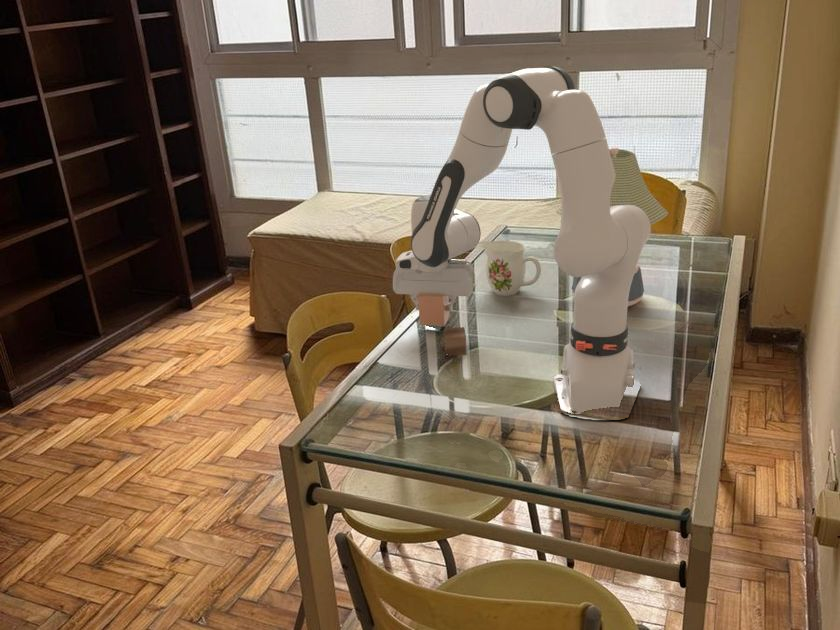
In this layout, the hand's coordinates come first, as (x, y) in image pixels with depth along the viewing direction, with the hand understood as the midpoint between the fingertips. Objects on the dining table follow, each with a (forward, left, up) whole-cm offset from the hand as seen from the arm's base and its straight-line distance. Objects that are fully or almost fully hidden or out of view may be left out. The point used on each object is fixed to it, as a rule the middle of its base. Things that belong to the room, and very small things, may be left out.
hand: (434, 309), depth 205 cm
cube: (0, 0, -5) cm, 5 cm away
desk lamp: (+23, -43, -5) cm, 49 cm away
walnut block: (-12, -8, -5) cm, 15 cm away
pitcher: (+26, -16, -5) cm, 31 cm away
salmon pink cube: (0, 0, -3) cm, 3 cm away
